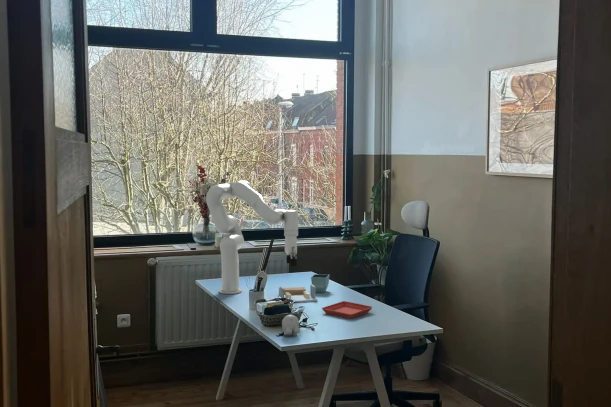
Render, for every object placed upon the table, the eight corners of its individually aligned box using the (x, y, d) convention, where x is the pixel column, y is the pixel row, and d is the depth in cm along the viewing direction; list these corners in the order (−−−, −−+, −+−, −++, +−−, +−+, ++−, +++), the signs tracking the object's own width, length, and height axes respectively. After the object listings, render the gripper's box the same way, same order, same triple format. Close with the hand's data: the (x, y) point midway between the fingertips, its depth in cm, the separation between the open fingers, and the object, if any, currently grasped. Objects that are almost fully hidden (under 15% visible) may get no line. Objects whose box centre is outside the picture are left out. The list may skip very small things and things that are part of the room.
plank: (278, 294, 349) (278, 287, 348) (304, 294, 351) (304, 286, 350) (279, 297, 343) (279, 290, 343) (305, 296, 345) (305, 289, 344)
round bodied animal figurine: (294, 336, 279) (292, 317, 281) (302, 333, 268) (300, 313, 271) (278, 337, 277) (276, 318, 279) (285, 334, 266) (283, 314, 268)
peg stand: (278, 297, 340) (277, 284, 339) (310, 295, 345) (310, 283, 344) (283, 303, 327) (283, 290, 327) (317, 301, 332) (317, 288, 332)
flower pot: (310, 293, 352) (310, 276, 351) (314, 289, 360) (314, 273, 360) (326, 293, 350) (326, 277, 349) (329, 290, 358) (329, 274, 358)
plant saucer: (350, 320, 296) (350, 313, 296) (320, 314, 308) (320, 307, 307) (373, 313, 310) (373, 306, 309) (343, 307, 321) (343, 300, 321)
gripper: (281, 231, 350) (281, 262, 352) (287, 235, 333) (288, 267, 335) (294, 230, 352) (294, 261, 353) (301, 234, 335) (302, 267, 337)
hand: (291, 264), depth 344 cm, fingers open, 9 cm apart
